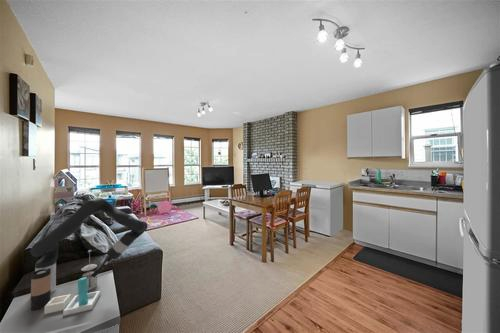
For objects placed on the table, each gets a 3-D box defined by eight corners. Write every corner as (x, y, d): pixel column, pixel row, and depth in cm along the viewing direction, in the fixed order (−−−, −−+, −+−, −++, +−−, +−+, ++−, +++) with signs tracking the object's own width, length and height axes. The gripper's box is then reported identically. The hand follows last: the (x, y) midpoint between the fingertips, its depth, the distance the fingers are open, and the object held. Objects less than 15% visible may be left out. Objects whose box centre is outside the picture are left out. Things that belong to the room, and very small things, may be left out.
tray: (63, 318, 100) (63, 311, 101) (75, 301, 113) (75, 295, 113) (91, 311, 105) (91, 304, 105) (100, 296, 118) (100, 290, 118)
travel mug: (32, 314, 104) (32, 276, 104) (28, 309, 108) (29, 272, 108) (52, 305, 110) (52, 270, 111) (48, 301, 114) (48, 267, 115)
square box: (44, 316, 102) (44, 306, 102) (52, 306, 109) (52, 297, 110) (63, 311, 105) (64, 302, 105) (70, 302, 113) (70, 293, 113)
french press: (98, 282, 133) (98, 246, 134) (99, 289, 125) (100, 250, 125) (79, 288, 126) (79, 250, 127) (79, 296, 118) (79, 255, 119)
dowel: (77, 307, 107) (76, 281, 107) (80, 302, 110) (79, 278, 110) (86, 304, 108) (85, 279, 108) (89, 300, 112) (88, 276, 112)
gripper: (114, 241, 123) (92, 264, 117) (110, 249, 110) (85, 275, 105) (124, 248, 125) (102, 271, 119) (121, 256, 113) (97, 282, 107)
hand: (94, 273), depth 112 cm, fingers open, 8 cm apart
